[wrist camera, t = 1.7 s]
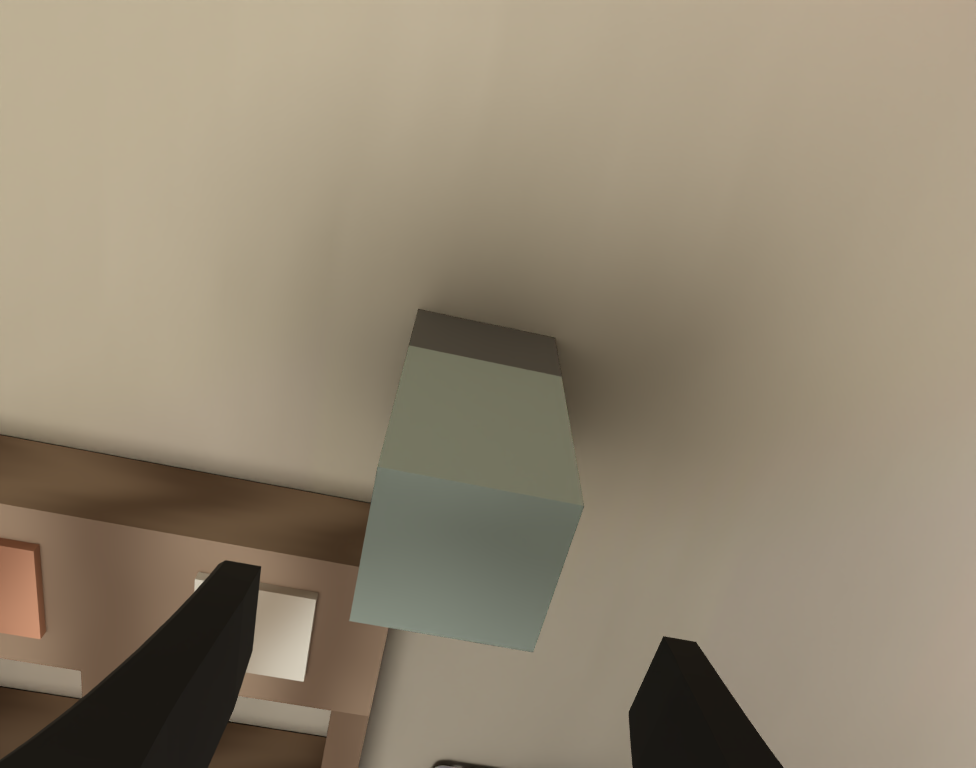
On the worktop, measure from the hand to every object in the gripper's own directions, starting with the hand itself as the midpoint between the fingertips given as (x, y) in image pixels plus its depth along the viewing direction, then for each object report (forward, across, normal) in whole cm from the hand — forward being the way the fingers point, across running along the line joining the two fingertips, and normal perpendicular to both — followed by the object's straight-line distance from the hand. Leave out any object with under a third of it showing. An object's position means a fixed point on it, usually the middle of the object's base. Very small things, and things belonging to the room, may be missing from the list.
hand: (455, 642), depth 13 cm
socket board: (+10, +9, +12) cm, 18 cm away
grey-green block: (+10, 0, 0) cm, 10 cm away
